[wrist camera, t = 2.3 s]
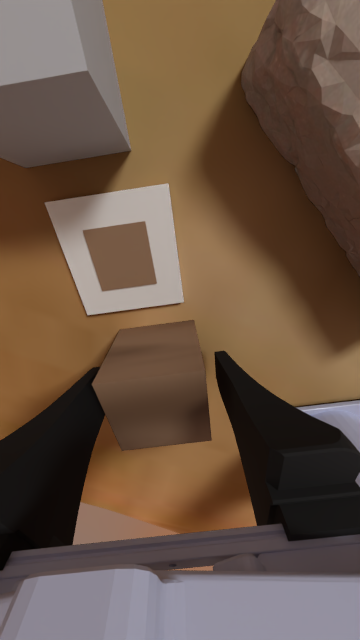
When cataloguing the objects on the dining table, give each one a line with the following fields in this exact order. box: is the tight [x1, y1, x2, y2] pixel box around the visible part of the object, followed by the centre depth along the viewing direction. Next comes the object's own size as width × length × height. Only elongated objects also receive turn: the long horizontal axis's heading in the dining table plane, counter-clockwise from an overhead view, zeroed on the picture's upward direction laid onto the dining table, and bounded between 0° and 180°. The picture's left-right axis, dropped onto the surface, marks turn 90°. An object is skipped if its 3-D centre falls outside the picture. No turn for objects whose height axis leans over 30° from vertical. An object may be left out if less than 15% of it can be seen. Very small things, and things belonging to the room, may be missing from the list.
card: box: [44, 184, 184, 315], centre depth 10 cm, size 6×6×1 cm
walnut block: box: [92, 320, 212, 451], centre depth 12 cm, size 5×5×5 cm
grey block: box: [0, 0, 131, 168], centre depth 5 cm, size 5×5×5 cm
